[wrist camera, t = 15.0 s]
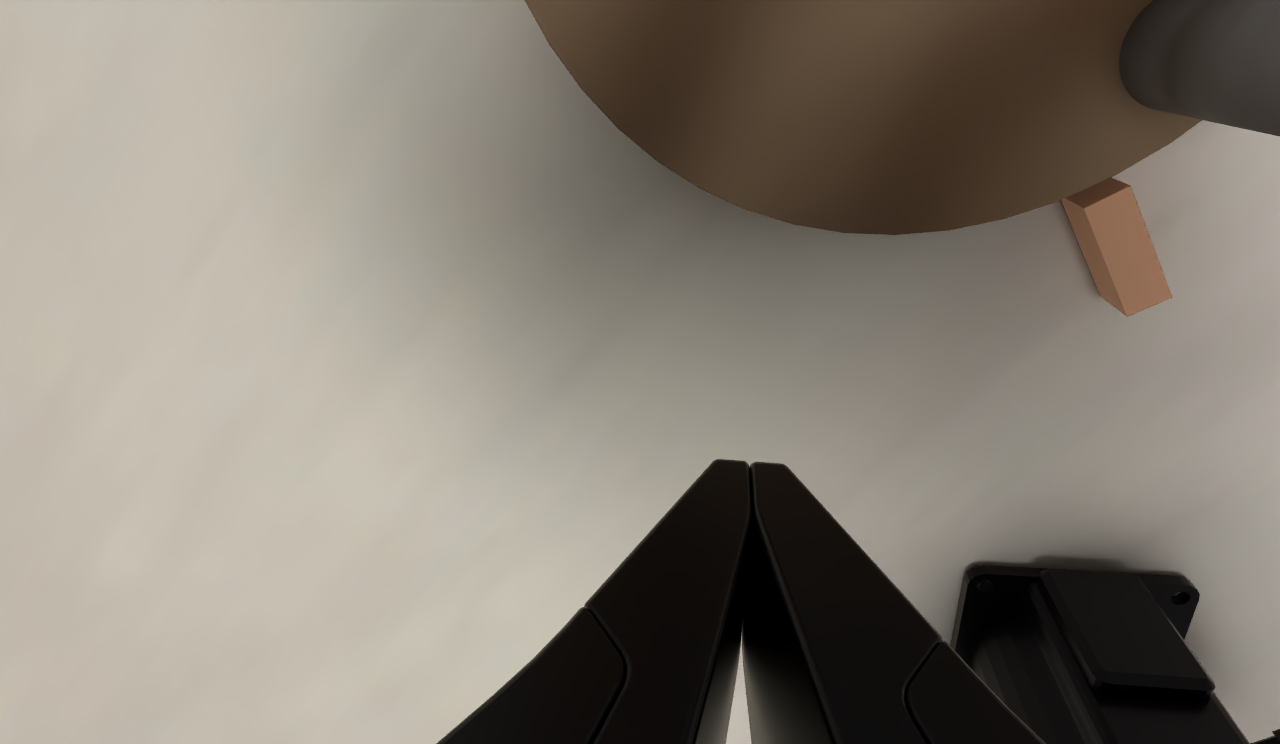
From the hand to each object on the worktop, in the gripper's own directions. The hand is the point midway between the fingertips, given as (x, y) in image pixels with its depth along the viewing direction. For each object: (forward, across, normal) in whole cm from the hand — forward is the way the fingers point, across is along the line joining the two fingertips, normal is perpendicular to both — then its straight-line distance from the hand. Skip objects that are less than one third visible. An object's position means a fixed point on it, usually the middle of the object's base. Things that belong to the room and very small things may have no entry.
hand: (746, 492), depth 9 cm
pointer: (+12, -9, 0) cm, 15 cm away
